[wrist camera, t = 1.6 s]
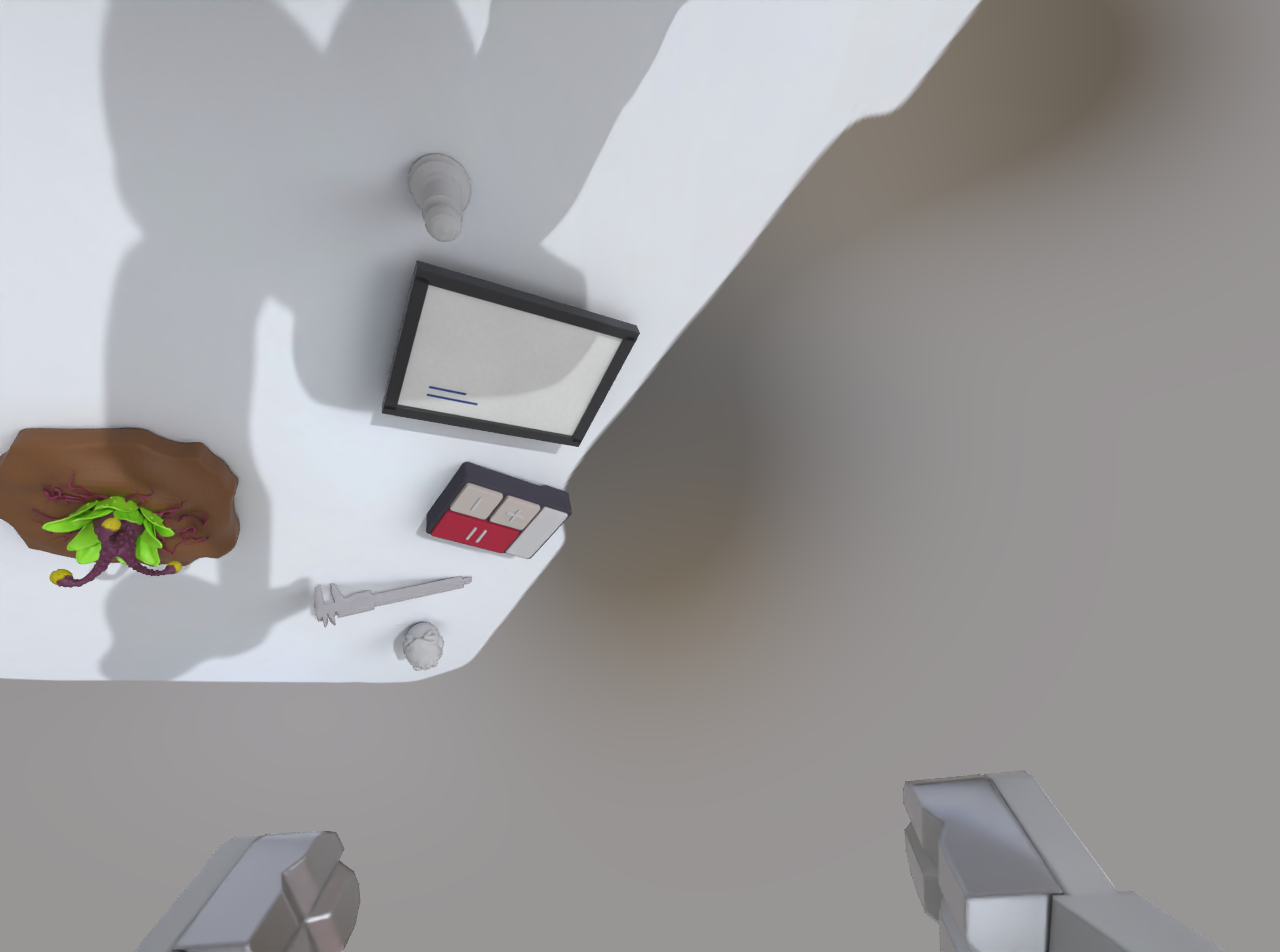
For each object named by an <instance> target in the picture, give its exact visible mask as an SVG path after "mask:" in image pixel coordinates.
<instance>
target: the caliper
mask: <svg viewBox="0 0 1280 952" xmlns="http://www.w3.org/2000/svg"><path fill="white" fill-rule="evenodd" d="M471 580H472V577H468V578H464V579H463V578H462V576H459V577H454V578H450V579H445V580H440V581H436V582H431V583H426V584H421V585H417V586H412V587H407V588H402V589H397V590H392V591H387V592H383V593H378V594H373V595H372V593H371V591H370V590H368V591H365V592H363V593H360V592H359V593H356V594H354V595H352V596H351V597H348V598H344V596H343V595H342V593H341V592H340V590H339V589H338V588H337V586H336V585H335V584H333V583H331V588H332V595H333V599H334V603H330V604H326V605H325V602H324V598H323V594H322V591H321V586H318V587H317V588H316V593H315V602H314V607H315V612H316V615H317V619H318V621H323V623H324V627H326V626H327V624H328V617H329V620H330V622H331V623H332V624H333V625H336V623H335V618H334V617H335V615H337V616H338V618H340V617H344V616H349V615H353V614H357V613H362V612H366V611H370V610H374V607H376V606H381V605H386V604H390V603H395V602H400V601H404V600H409V599H413V598H418V597H423V596H427V595H432V594H437V593H441V592H446V591H450V590H455V589H459V588H463V587H464V584H469V583H470V582H471Z"/></svg>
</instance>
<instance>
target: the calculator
mask: <svg viewBox="0 0 1280 952" xmlns="http://www.w3.org/2000/svg"><path fill="white" fill-rule="evenodd" d="M571 514H572V512H571V506H570V500H569V494H568V493H567V492H564V491H561V490H559V489H556V488H553V487H550V486H547V485H545V486H537V485H534V484H531V483H528V482H525V481H522V480H519V479H516V478H514V477H511V476H508V475H505V474H502V473H499V472H496V471H493V470H490V469H487V468H484V467H481V466H478V465H475V464H472V463H469V462H465V463H464V464H463V465H462V466H461V468H460V469H459V470H458V472H457V473H456V475H455V476H454V477H453V479H452V480H451V482H450V483H449V484H448V486H447V487H446V489H445V490H444V491H443V493H442V494H441V496H440V497H439V498H438V500H437V501H436V503H435V504H434V505H433V507H432V508H431V510H430V511H429V512H428V514H427V524H426V532H427V533H428V534H431V535H432V536H435V537H439V538H443V539H447V540H451V541H455V542H459V543H463V544H467V545H471V546H475V547H479V548H483V549H487V550H491V551H494V552H498V553H506V554H510V555H514V556H518V557H522V558H526V559H530V558H532V556H533V555H534V554H535V553H536V552H537V551H538V550H539V549H540V548H541V547H542V546H543V544H544V543H545V542H546V541H547V540H548V539H549V538H550V537H551V536H552V535H553V534H554V532H555V531H556V530H557V529H558V528H559V527H560V526H561V525H562V524H563V523H564V522H565V520H566V519H567V518H568V517H569V516H570V515H571Z"/></svg>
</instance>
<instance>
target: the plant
mask: <svg viewBox="0 0 1280 952" xmlns="http://www.w3.org/2000/svg"><path fill="white" fill-rule="evenodd" d="M237 486H238V479H237V477H236V476H235V475H233V474H232V472H231V471H230V469H229V467H228V466H227V465H226V463H225V462H224V461H223V460H221V459H220V458H218V457H217V456H215V455H214V454H212V453H211V452H210V451H209V450H208V449H207V448H206V447H205V445H204V444H202V443H178V442H173V441H170V440H167V439H164V438H161V437H159V436H156V435H155V434H153V433H151V432H149V431H147V430H143V429H133V428H127V429H24V430H22V431H20V432H19V434H18V436H17V437H16V439H15V440H14V442H13V444H12V445H11V447H10V449H9V451H8V452H6V453H4V454H3V455H1V456H0V518H1V519H2V520H4V521H6V522H7V523H9V524H10V525H11V526H13V527H14V529H15V530H16V531H17V533H18V534H19V535H20V537H21V538H22V539H23V540H24V541H25V543H26V544H27V546H28V547H29V548H31V549H36V550H41V551H45V552H49V553H53V554H57V555H61V556H66V557H71V558H76V560H77V562H78V563H79V564H88V563H92V562H96V564H95V565H94V568H93V569H92V570H91V571H90V573H88V574H87V575H86V576H85V577H84V578H82V579H80V580H79V579H73V576H72V573H71V572H69V571H68V570H65V569H58V570H57V571H53V572H52V573H51V575H50V581H52V583H54V584H55V585H59V586H63V587H70V588H71V587H73V586H77V587H80V586H82V585H83V584H86V583H88V582H89V581H93V580H94V579H95V577H97V576H98V575H100V574H101V572H102V571H105V570H106V569H107V568H108V565H109V564H110V563H119V562H121V563H122V564H124V565H129V566H128V567H132V568H133V570H136V571H137V572H141V573H142V574H146V575H151V576H153V575H154V576H156V575H157V576H159V575H165V574H175V573H177V572H179V571H180V570H181V568H182V566H186V565H188V564H190V563H191V562H193V561H194V560H196V559H198V558H202V557H209V558H220V557H222V556H223V555H225V554H227V553H228V552H230V551H231V550H232V549H233V548H234V547H235V545H236V543H237V539H238V535H239V531H240V524H239V520H238V517H237V515H236V513H235V509H234V495H235V493H236V490H237ZM140 563H143V564H146V565H149V566H152V567H153V566H157V565H160V564H167V566H166V567H165V569H164V570H163V571H159V570H156V571H154V570H153V569H151V570H150V569H147V567H145V566H144V567H143V566H142V565H141V564H140Z"/></svg>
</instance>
